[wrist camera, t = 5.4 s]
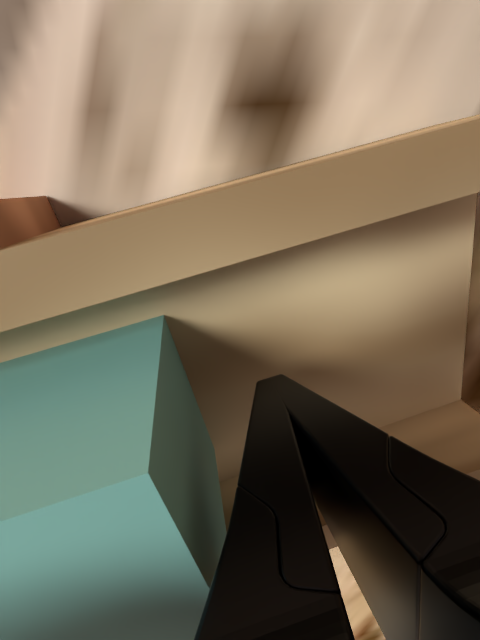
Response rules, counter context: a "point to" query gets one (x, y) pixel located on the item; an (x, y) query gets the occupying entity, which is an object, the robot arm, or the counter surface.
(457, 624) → the robot arm
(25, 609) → the block
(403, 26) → the counter surface
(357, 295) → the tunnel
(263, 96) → the counter surface
